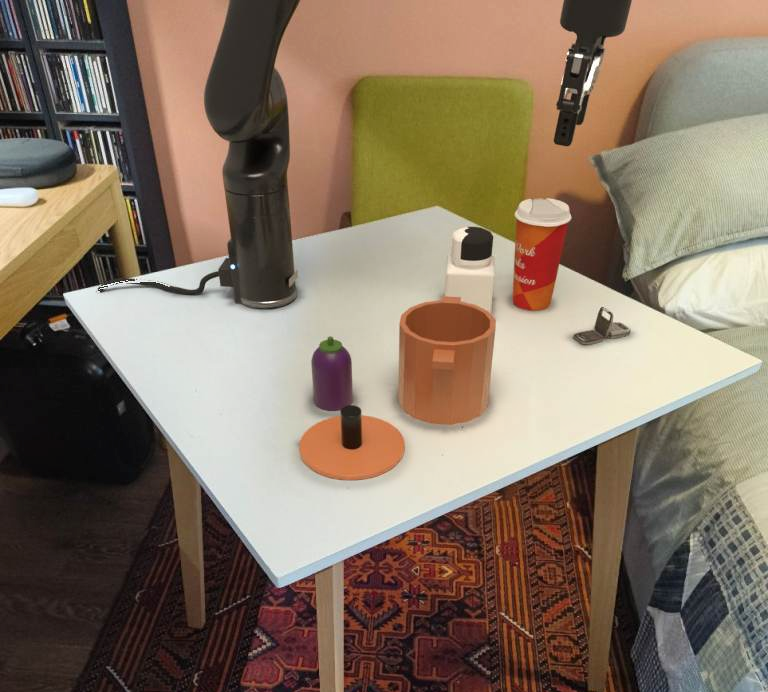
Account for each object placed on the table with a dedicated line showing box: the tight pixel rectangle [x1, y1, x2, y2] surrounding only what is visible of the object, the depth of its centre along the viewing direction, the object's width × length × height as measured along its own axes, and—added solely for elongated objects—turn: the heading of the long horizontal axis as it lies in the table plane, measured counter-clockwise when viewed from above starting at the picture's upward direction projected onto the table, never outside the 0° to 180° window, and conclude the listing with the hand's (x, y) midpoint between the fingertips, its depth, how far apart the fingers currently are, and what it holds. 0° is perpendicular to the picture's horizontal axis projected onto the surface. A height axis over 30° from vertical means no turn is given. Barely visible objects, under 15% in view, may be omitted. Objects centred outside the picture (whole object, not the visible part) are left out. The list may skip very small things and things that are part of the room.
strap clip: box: [573, 306, 631, 345], centre depth 112 cm, size 8×3×4 cm, turn 113°
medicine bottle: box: [444, 226, 495, 315], centre depth 116 cm, size 7×7×12 cm
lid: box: [298, 404, 405, 481], centre depth 89 cm, size 12×12×6 cm
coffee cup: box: [512, 197, 572, 312], centre depth 117 cm, size 8×8×15 cm
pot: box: [397, 295, 497, 426], centre depth 96 cm, size 11×17×12 cm
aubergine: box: [310, 336, 354, 412], centre depth 96 cm, size 5×5×10 cm
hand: (568, 133), depth 97 cm, fingers open, 8 cm apart
